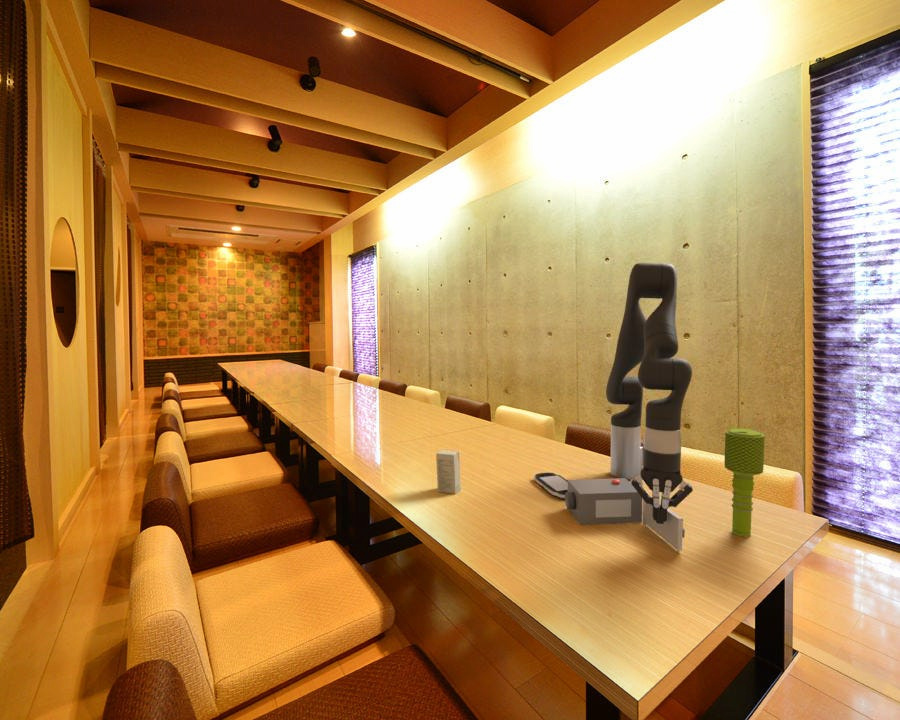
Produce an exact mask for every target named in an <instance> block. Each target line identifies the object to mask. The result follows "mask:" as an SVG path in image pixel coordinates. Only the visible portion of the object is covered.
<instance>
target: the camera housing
mask: <svg viewBox="0 0 900 720" xmlns="http://www.w3.org/2000/svg"><path fill="white" fill-rule="evenodd" d="M567 480H568V492H566V494H565V500H564V502H565V507H566V509H567V510H568V511H569V512H570V513H571V515H572V516H573V518H575V520H576V521H577V524H579V526H580V525H585V526H586V525H607V524H609V525H611V524H641V523H642V524H643V498H642V497H641V496H640V495H639V493H638V492H637V491H636V489H635V488H634V487H633V486H632V484H631V481H629V479H625V478H617V477H615V478H592V479H591V478H588V479H586V478H585V479H567Z"/></svg>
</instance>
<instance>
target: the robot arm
mask: <svg viewBox="0 0 900 720" xmlns="http://www.w3.org/2000/svg"><path fill="white" fill-rule="evenodd" d="M677 276H678V274H677V270H676V267H675V266H674V265H673V264H671V263H660V262H659V263H658V262H639V263H638V262H637V263H635V264H634V265H633V267H632V268H631V271H630V274H629V279H628V286H627V292H626V293H627V294H626V299H625V300H626V301H625V307H624V314H623V317H622V321H621V325H620V329H619V333H618V336H617V337H618V339H617V343H616V349H615V355H614V360H613V363H612V367H611V370H610V374H609V377H608V379H607V380H608V381H607V383H606V388H605V389H606V390H605V396H606V397H605V398H606V400H607V402H608V403H610V404H612V405H622V406H623V405H624V406H626V405H628V406H627V408H625V409H624V410H622V411H620V412H617V413H613V415H611V418H610V475H611V476H613V477H614V478H625V479H627V480H630V483H631V484H632V486H633V487H634V488H635V489H636V491H637V492H638V493H639V495H640V496H641V497H642V501H643V500H644V501H645V502H646V503H647V504H651V505H652V506H653V515H652V516H653V519H654V520H656V523H659V524H664V522H666V521H667V509H670V508H676V507H678V505H680V504H681V503H682V502H683V501H684V500H685V499H686V498H687V497H688V496H689V495H690V494H691V493H693V491H694V490H693V486H692V485H691V484H690V483H689V482H686V481H685V479H684V478H683V476H682V474H681V462H682V460H681V459H682V458H681V457H682V433H681V427H682V426H681V425H682V424H681V423H682V422H681V421H682V420H681V419H682V418H681V417H682V407H683V404H684V400H685V397H686V394H687V391H688V389H689V386H690V384H691V380H692V377H693V369H692V366H691V364H690V363H689V361H687V360H686V359H684V358H679V357H678V358H676V357H675V356H676V355H678V354H677V353H678V351H679V341H678V335H677V334H678V333H677V326H676V314H677V313H676V312H677V293H678V292H677V291H678V277H677ZM640 299H654V300H655V299H658V300H659V299H661V301H660V303H659V305H657V307H656V308H655V309H654V310H653V311H652V313H650V315H649V316H648V317H646V316H645V315H644V313H643V310H642V308H641V304H640ZM673 357H675V358H673ZM638 365H639V368H638V370H637V371H638V372H637V376H627V375H628V373H630V372H631V371H632V370H633V369H634V368H636V367H637V366H638ZM644 389H645V390H652V391H671V392H670V393H669V395H668V396H666V397H664V398H660V399H653V400H649V401H648V402H647V403H646V405H645V423H644V424H645V425H644V426H645V427H644V432H643V433H644V434H643V441H642V440H641V439H642V438H641V436H642V435H641V431H642V429H641V427H642V413H643V412H642V411H643V396H644ZM641 441H642V442H641ZM641 443H643V446H641V445H642V444H641ZM643 482H644V483H643ZM644 484H645V485H646V486H647V487H648V489H649V490H651V494H652V496H651V495H649V493H648V494H647V492H648V491H647V492H646V490H645V488H644V487H643V486H644ZM677 488H678V489H679V490H678V491H676V492H675V493H674V494H673V495H672V496H671V493H673V492H674V491H675V490H676V489H677ZM660 493H661V498H660ZM650 496H651V497H650ZM660 503H661V505H660Z"/></svg>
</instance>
